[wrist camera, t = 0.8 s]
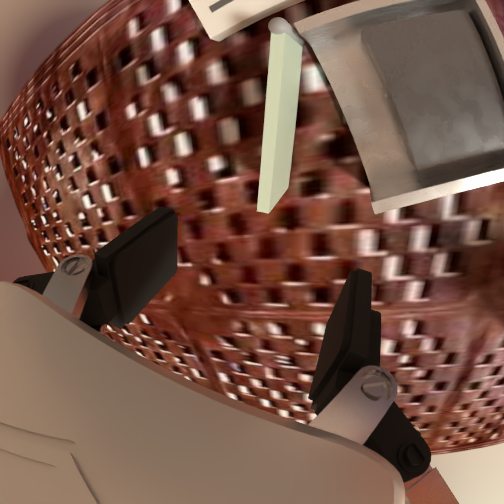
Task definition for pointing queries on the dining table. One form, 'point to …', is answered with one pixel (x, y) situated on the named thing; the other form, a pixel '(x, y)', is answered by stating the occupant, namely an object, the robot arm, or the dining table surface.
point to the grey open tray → (416, 93)
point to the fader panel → (234, 14)
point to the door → (279, 112)
